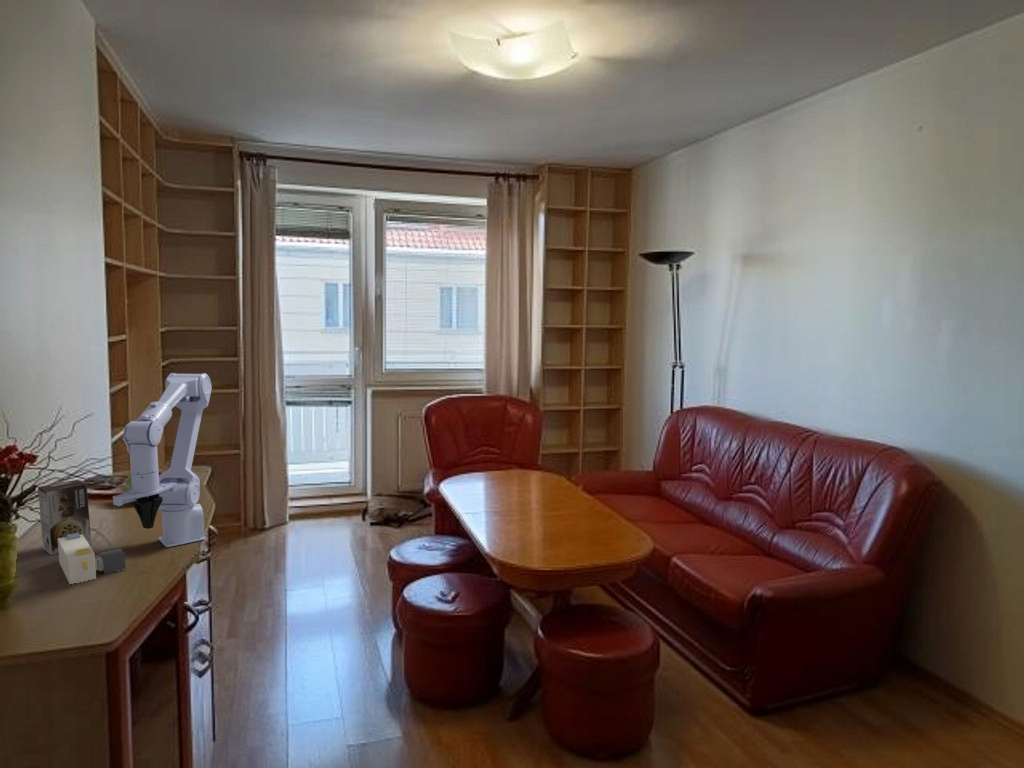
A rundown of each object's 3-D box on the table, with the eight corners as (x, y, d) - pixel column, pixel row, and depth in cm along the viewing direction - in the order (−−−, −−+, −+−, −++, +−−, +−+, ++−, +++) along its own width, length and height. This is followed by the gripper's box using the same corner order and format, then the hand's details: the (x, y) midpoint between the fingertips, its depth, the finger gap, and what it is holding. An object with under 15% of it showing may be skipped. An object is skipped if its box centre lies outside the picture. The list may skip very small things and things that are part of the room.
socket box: (82, 556, 167) (81, 530, 167) (97, 581, 153) (95, 552, 152) (58, 561, 164) (56, 534, 163) (71, 587, 150) (68, 557, 149)
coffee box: (82, 539, 179) (78, 478, 177) (92, 545, 175) (88, 483, 173) (41, 549, 172) (37, 486, 170) (50, 555, 168) (46, 490, 166)
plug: (121, 565, 163) (120, 548, 162) (125, 570, 160) (124, 553, 159) (97, 570, 159) (96, 553, 159) (100, 575, 156) (99, 558, 156)
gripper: (163, 463, 170) (166, 516, 172) (103, 475, 158) (107, 533, 159) (181, 466, 167) (184, 521, 168) (121, 480, 154) (125, 538, 156)
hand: (148, 527), depth 164 cm, fingers closed
